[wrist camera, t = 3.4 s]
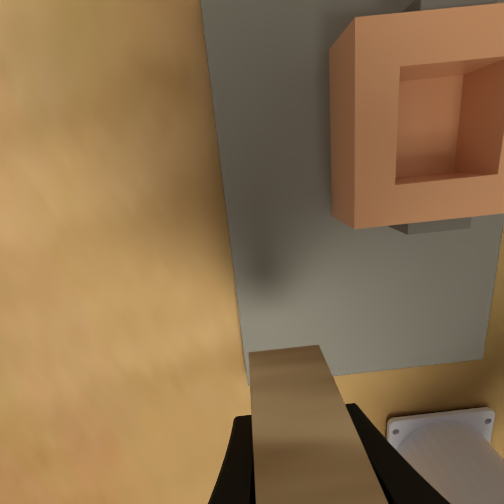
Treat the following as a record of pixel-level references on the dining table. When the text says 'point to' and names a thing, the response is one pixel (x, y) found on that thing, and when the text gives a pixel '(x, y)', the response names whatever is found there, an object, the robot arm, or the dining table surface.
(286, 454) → the tan rectangular block
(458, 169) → the terracotta square frame
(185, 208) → the dining table surface
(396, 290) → the slate board
